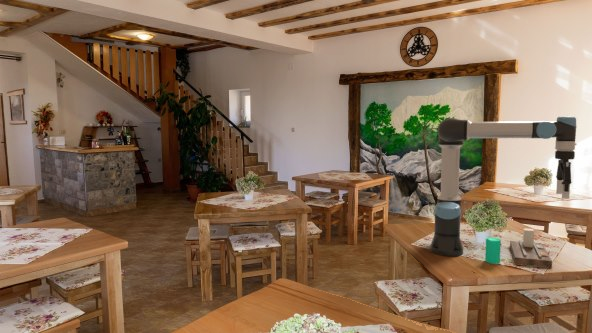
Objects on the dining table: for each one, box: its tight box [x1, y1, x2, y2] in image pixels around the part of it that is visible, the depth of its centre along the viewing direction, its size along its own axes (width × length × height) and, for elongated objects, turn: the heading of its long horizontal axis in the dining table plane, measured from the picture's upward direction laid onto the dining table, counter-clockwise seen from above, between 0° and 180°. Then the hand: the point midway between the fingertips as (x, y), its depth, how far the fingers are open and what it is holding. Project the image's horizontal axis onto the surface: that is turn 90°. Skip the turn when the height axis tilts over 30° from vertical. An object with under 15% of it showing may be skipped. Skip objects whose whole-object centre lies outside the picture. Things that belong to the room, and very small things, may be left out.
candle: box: [484, 235, 502, 265], centre depth 185 cm, size 6×6×12 cm
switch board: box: [509, 240, 553, 269], centre depth 192 cm, size 14×28×4 cm, turn 157°
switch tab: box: [522, 228, 535, 247], centre depth 197 cm, size 4×4×8 cm
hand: (562, 196), depth 191 cm, fingers open, 13 cm apart
